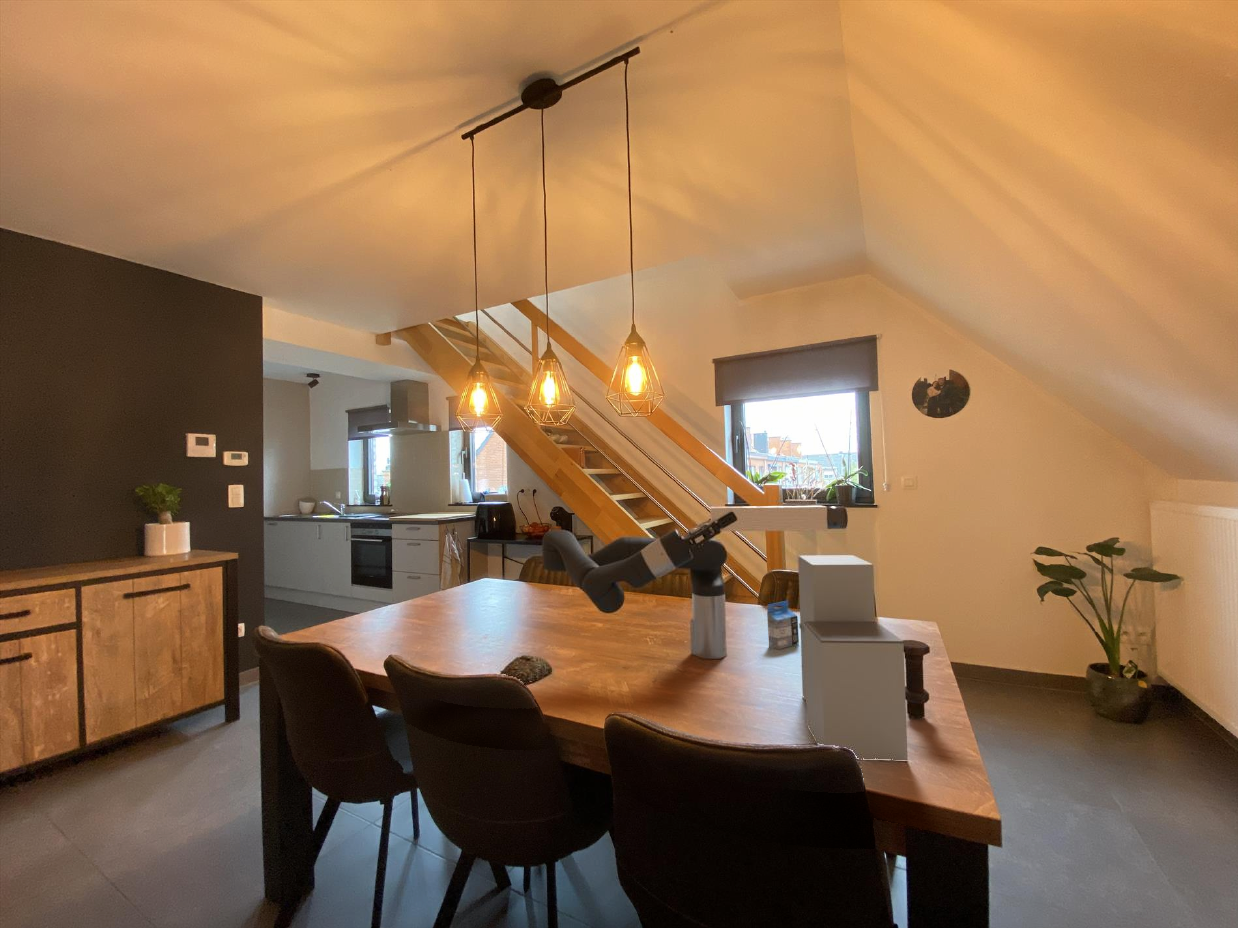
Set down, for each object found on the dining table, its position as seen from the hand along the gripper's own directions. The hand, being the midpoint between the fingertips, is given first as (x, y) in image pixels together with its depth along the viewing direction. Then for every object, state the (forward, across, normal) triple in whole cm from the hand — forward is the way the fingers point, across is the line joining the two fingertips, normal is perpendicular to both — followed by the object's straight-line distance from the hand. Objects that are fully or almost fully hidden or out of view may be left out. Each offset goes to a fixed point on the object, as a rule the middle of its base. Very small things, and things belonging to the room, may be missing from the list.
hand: (733, 514), depth 112 cm
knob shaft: (+6, 0, +7) cm, 10 cm away
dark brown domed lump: (-67, +17, +11) cm, 70 cm away
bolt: (+10, -1, +54) cm, 55 cm away
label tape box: (-6, +42, +46) cm, 63 cm away
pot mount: (-4, -6, +47) cm, 47 cm away
